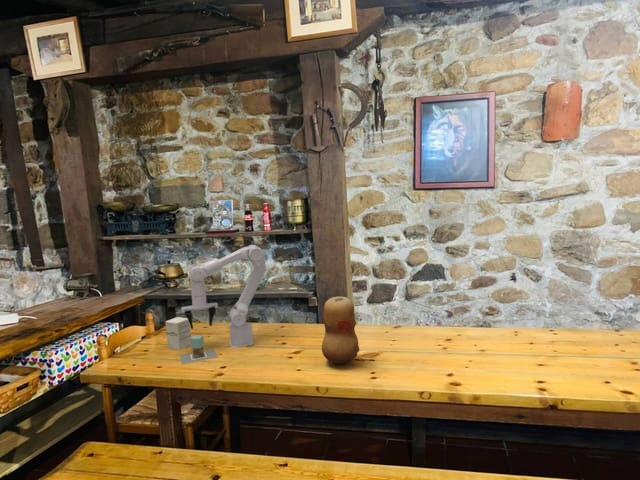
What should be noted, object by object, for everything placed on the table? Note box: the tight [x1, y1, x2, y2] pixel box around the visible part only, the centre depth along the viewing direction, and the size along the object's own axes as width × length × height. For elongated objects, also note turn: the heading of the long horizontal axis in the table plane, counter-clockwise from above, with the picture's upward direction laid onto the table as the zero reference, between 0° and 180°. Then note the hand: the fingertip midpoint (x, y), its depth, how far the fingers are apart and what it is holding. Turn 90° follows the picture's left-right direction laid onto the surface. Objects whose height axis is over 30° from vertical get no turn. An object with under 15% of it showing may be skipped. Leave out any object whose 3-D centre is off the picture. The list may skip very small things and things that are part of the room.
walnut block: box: [191, 345, 205, 359], centre depth 171 cm, size 4×4×4 cm
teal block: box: [190, 334, 205, 350], centre depth 171 cm, size 4×4×4 cm
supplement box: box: [165, 316, 192, 351], centre depth 183 cm, size 7×7×13 cm
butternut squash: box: [321, 296, 360, 365], centre depth 157 cm, size 14×13×25 cm
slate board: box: [179, 348, 219, 365], centre depth 172 cm, size 14×11×1 cm
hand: (201, 326), depth 178 cm, fingers open, 7 cm apart
